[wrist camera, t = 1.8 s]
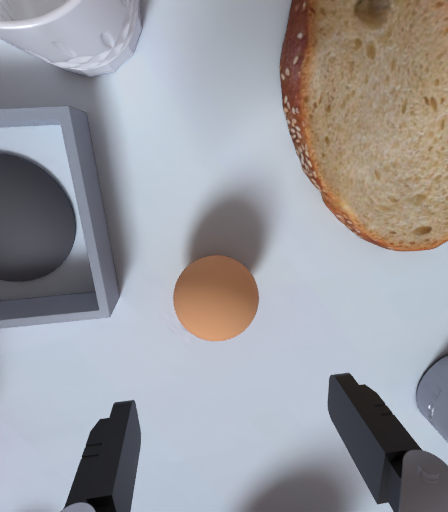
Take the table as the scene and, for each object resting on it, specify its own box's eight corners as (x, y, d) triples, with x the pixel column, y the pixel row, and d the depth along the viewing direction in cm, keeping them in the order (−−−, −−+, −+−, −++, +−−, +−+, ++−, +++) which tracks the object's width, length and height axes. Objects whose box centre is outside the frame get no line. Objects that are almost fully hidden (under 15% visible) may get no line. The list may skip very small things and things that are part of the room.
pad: (60, 149, 20) (58, 149, 20) (86, 274, 23) (86, 275, 23) (-87, 157, 20) (-89, 157, 20) (-40, 285, 23) (-42, 287, 22)
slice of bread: (433, 258, 27) (471, 274, 23) (235, 213, 24) (243, 224, 20) (543, 22, 22) (612, -3, 18) (309, -77, 18) (338, -130, 15)
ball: (248, 241, 24) (267, 269, 18) (250, 310, 26) (268, 354, 20) (171, 248, 23) (165, 278, 18) (179, 317, 25) (176, 364, 20)
